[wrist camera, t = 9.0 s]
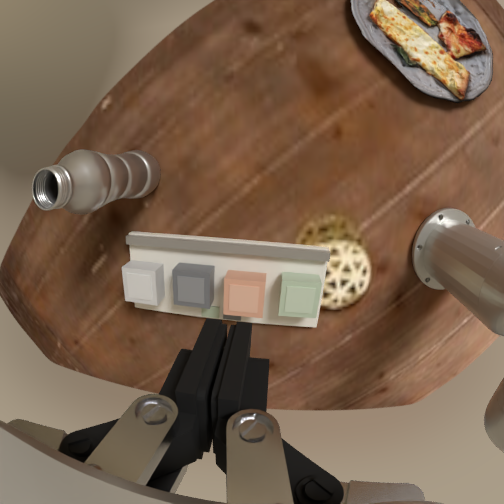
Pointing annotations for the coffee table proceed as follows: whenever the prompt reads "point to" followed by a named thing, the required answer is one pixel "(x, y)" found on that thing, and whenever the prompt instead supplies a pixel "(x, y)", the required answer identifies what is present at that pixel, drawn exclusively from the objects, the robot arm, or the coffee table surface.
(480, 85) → the food plate
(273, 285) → the keyboard base
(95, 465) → the robot arm
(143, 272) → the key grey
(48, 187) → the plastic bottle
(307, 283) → the key sage
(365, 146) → the coffee table surface
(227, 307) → the key terracotta
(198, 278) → the key charcoal
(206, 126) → the coffee table surface
